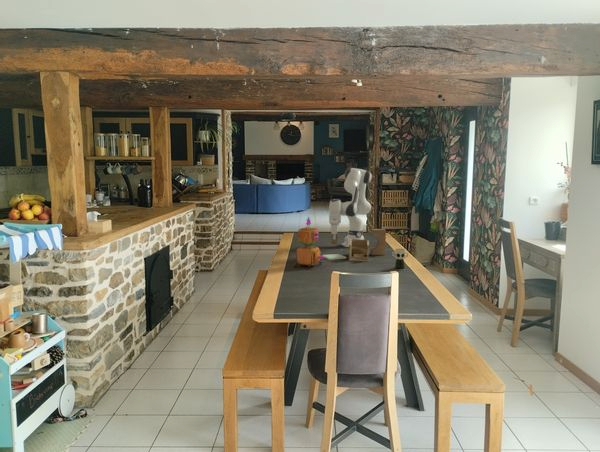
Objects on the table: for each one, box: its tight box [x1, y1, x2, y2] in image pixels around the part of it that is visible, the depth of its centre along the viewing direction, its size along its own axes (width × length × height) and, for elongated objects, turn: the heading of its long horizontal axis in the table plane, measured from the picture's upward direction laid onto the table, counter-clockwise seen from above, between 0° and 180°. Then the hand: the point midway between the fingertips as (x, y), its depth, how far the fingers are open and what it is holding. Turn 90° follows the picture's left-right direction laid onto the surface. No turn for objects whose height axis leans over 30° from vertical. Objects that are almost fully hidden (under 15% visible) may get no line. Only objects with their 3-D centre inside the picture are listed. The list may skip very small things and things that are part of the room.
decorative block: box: [369, 228, 387, 256], centre depth 389 cm, size 11×6×20 cm, turn 89°
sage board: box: [321, 253, 347, 261], centre depth 377 cm, size 14×14×1 cm
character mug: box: [391, 248, 409, 269], centre depth 341 cm, size 11×7×13 cm, turn 84°
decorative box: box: [293, 216, 324, 270], centre depth 343 cm, size 19×21×35 cm
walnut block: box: [331, 231, 339, 245], centre depth 375 cm, size 4×4×9 cm
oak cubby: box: [348, 239, 370, 262], centre depth 377 cm, size 26×14×12 cm, turn 172°
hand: (334, 238), depth 375 cm, fingers closed on walnut block, 4 cm apart
